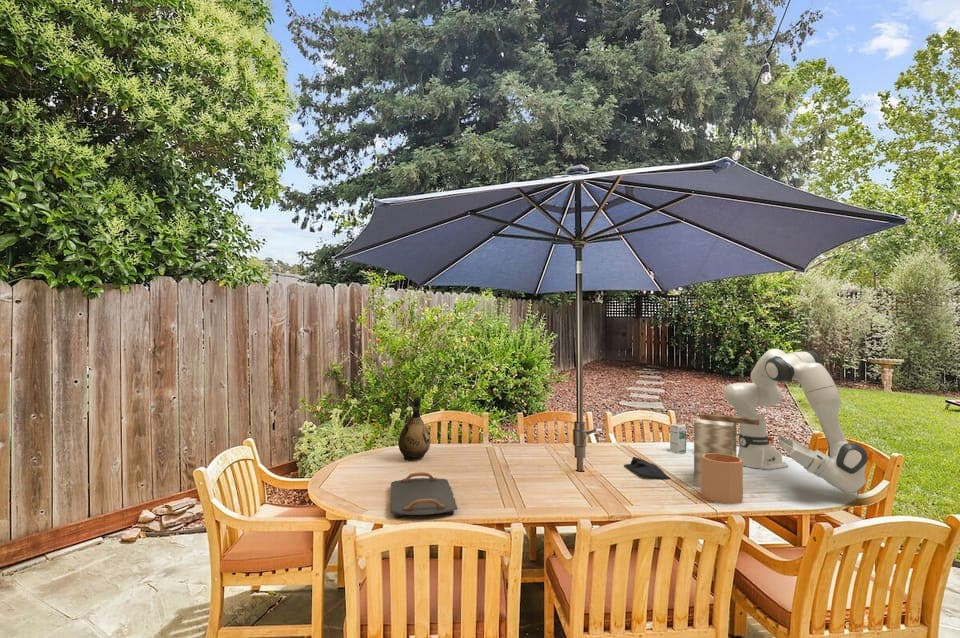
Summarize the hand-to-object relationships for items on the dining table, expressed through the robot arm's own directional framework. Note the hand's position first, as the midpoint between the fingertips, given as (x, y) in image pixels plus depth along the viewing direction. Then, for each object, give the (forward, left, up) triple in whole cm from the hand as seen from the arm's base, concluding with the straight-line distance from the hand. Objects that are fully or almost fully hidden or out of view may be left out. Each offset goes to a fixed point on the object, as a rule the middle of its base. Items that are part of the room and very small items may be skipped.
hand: (778, 439), depth 197 cm
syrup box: (+1, -63, -21) cm, 66 cm away
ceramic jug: (+137, -78, -21) cm, 159 cm away
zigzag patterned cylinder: (+16, -16, -21) cm, 31 cm away
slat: (+13, -13, +5) cm, 19 cm away
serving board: (+140, -19, -21) cm, 143 cm away
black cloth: (+38, -34, -21) cm, 55 cm away
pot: (+27, +1, -21) cm, 34 cm away
